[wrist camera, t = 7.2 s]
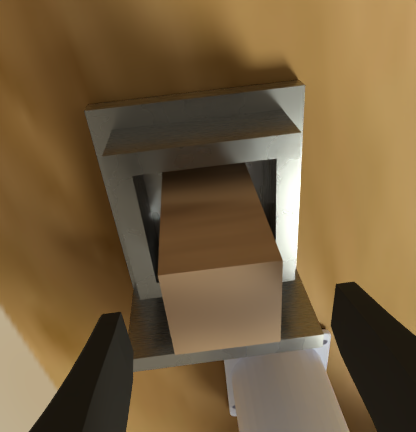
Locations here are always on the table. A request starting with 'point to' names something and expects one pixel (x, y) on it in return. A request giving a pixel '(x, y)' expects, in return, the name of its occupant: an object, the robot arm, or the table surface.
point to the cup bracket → (197, 158)
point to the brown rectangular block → (217, 261)
